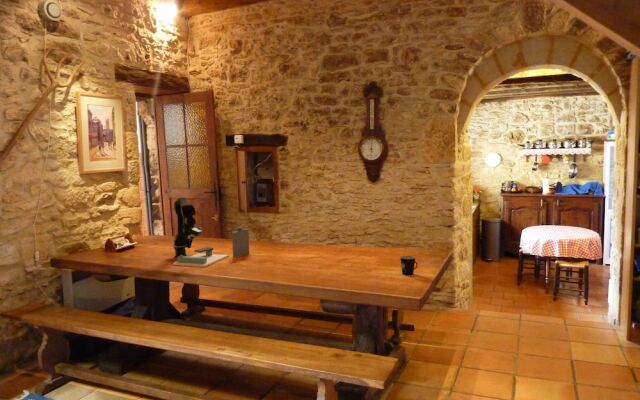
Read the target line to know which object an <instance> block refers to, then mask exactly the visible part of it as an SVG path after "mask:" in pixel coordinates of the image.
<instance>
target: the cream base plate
mask: <svg viewBox="0 0 640 400" xmlns="http://www.w3.org/2000/svg"><path fill="white" fill-rule="evenodd" d="M189 257H204V258H207V262H206V263H194V262H178V260H177V261H175V262H173V263H172V266H183V267H197V268H199V267H200V268H207V267H209V266H211V265H214V264H216V263H218V262H220V261H222V260H225V259H227V258H229V254H213V253H212V255H210V256H208V255H206V253H199V252H197V253H195V254H193V255H191V256H189ZM213 263H214V264H213ZM208 265H209V266H208ZM206 266H207V267H206Z"/></svg>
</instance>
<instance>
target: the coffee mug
mask: <svg viewBox="0 0 640 400" xmlns="http://www.w3.org/2000/svg"><path fill="white" fill-rule="evenodd" d="M400 265H401V266H400V267H401V274H402V275H403V276H407V275H410V276H413V275H414V273H415V272H414V271H415V270H416V269H417V268H418V262H417V261H416V256H413V255H402V256H400Z"/></svg>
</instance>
